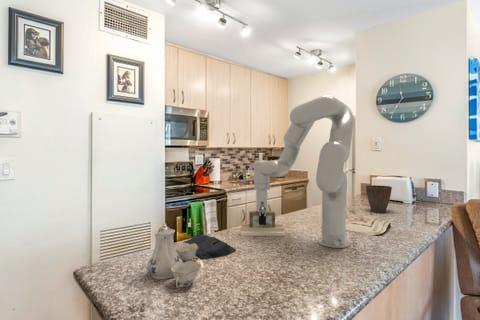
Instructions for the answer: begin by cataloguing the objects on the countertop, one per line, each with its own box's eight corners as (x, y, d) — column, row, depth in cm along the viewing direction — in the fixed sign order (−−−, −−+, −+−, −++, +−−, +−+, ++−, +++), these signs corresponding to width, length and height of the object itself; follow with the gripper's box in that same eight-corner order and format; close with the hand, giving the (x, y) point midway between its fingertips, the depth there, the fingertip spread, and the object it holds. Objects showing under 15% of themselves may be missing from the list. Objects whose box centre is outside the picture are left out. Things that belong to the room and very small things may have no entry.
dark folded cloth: (210, 239, 126) (210, 228, 126) (239, 253, 108) (239, 241, 108) (178, 245, 117) (178, 234, 117) (203, 262, 99) (203, 249, 99)
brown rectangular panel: (274, 227, 136) (274, 211, 136) (275, 230, 132) (275, 213, 132) (249, 227, 137) (249, 211, 137) (249, 230, 133) (249, 213, 132)
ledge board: (281, 228, 140) (281, 222, 140) (284, 235, 128) (284, 229, 128) (241, 228, 141) (241, 222, 141) (240, 235, 129) (240, 229, 129)
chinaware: (205, 296, 79) (211, 236, 78) (142, 298, 74) (148, 235, 74) (194, 259, 106) (198, 214, 105) (147, 259, 101) (152, 213, 101)
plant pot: (361, 211, 178) (361, 186, 178) (371, 208, 188) (371, 184, 188) (386, 215, 167) (386, 188, 167) (395, 211, 177) (395, 186, 177)
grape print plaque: (318, 233, 144) (382, 242, 126) (317, 221, 143) (382, 229, 125) (336, 218, 166) (393, 224, 148) (335, 208, 166) (393, 213, 147)
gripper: (253, 184, 143) (253, 217, 143) (254, 188, 125) (254, 226, 126) (268, 184, 142) (268, 217, 143) (271, 188, 125) (271, 226, 126)
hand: (262, 222), depth 134 cm, fingers open, 9 cm apart
